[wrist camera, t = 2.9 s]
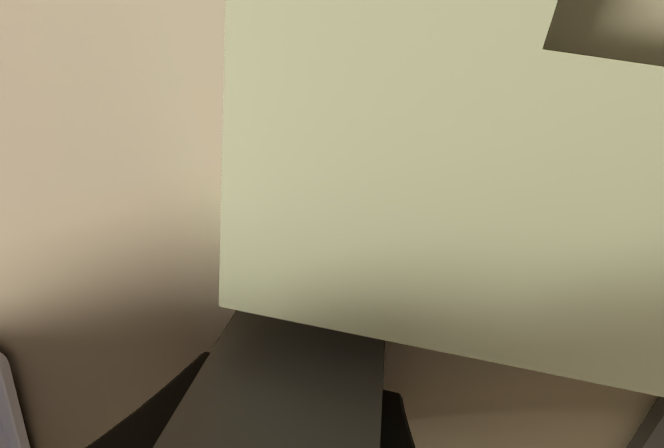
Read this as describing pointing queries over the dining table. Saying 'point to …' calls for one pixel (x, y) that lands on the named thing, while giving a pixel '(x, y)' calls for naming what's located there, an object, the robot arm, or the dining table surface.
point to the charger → (282, 389)
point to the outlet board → (445, 184)
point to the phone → (651, 428)
